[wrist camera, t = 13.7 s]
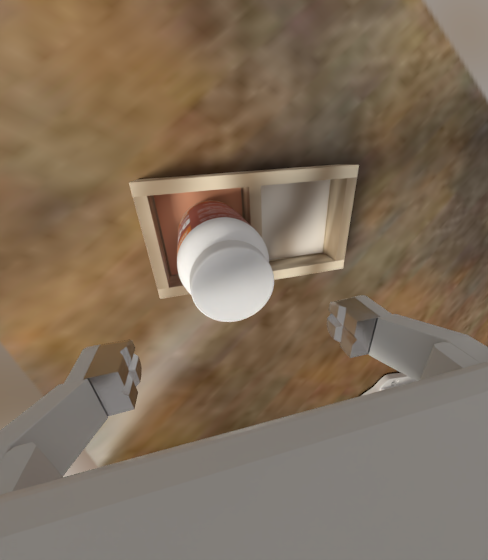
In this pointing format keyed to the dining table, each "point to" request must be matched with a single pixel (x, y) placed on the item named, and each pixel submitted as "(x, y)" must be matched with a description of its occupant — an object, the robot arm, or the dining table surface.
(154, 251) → the tray
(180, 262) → the pill bottle
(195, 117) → the dining table surface
